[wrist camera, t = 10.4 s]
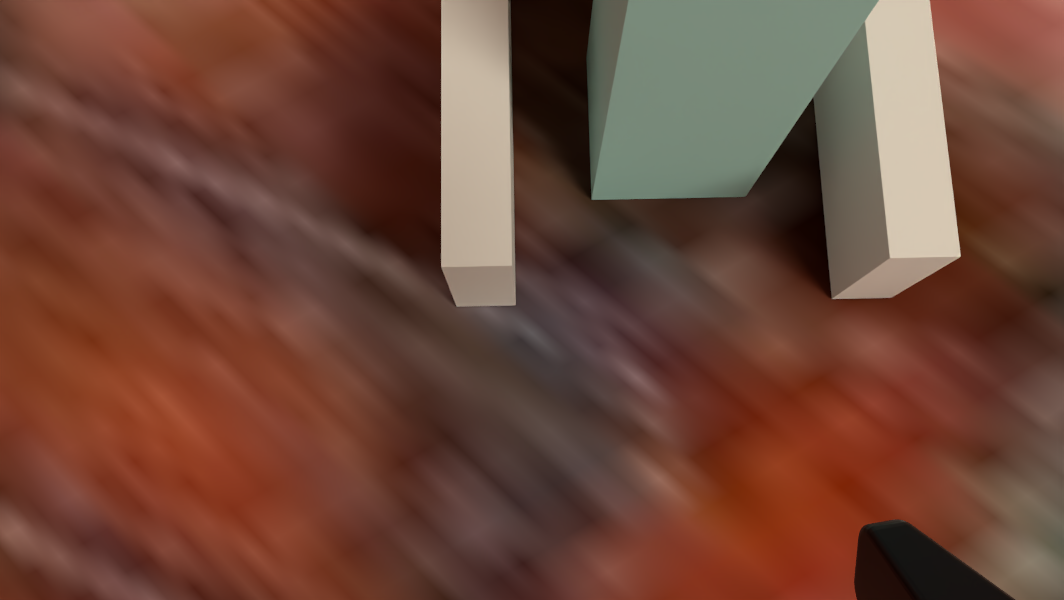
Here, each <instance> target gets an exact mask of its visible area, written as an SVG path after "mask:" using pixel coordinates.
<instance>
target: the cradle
mask: <svg viewBox="0 0 1064 600" xmlns="http://www.w3.org/2000/svg"><path fill="white" fill-rule="evenodd" d="M813 98H814V109H815V120H816V131H817V142H818V153H819V164H820V175H821V186H822V197H823V208H824V219H825V230H826V241H827V252H828V263H829V274H830V285H831V296H832V299H857V298H891V297H893V296H895V295H897V294H898V293H900V292H902V291H903V290H905V289H907V288H908V287H910V286H912V285H914V284H915V283H917V282H919V281H920V280H922V279H924V278H925V277H927V276H929V275H931V274H932V273H934V272H936V271H937V270H939V269H941V268H942V267H944V266H946V265H948V264H949V263H951V262H953V261H954V260H956V259H958V258H959V257H961V254H960V246H959V238H958V230H957V222H956V213H955V205H954V197H953V189H952V181H951V172H950V164H949V156H948V148H947V140H946V131H945V123H944V115H943V107H942V99H941V91H940V82H939V74H938V66H937V58H936V50H935V41H934V33H933V25H932V17H931V9H930V1H929V0H879V1H878V2H877V4H876V5H875V7H874V8H873V10H872V11H871V13H870V14H869V16H868V17H867V19H866V20H865V22H864V23H863V24H862V26H861V27H860V29H859V30H858V32H857V33H856V35H855V36H854V38H853V39H852V41H851V42H850V44H849V45H848V47H847V48H846V49H845V51H844V52H843V54H842V55H841V57H840V58H839V60H838V61H837V63H836V64H835V66H834V67H833V69H832V70H831V72H830V73H829V74H828V76H827V77H826V79H825V80H824V82H823V83H822V85H821V86H820V88H819V89H818V91H817V92H816V94H815V95H814V97H813ZM441 268H442V271H443V273H444V276H445V278H446V281H447V283H448V286H449V289H450V291H451V294H452V296H453V299H454V301H455V304H456V307H461V306H510V305H516V288H515V228H514V168H513V108H512V48H511V0H441Z"/></svg>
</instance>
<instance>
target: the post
mask: <svg viewBox="0 0 1064 600" xmlns="http://www.w3.org/2000/svg"><path fill="white" fill-rule="evenodd" d="M878 1H879V0H593V5H592V14H591V23H590V31H589V40H588V48H587V57H586V61H587V89H588V117H589V145H590V173H591V200H609V199H659V198H708V197H746V195H747V194H748V192H749V191H750V189H751V188H752V186H753V185H754V183H755V182H756V180H757V179H758V178H759V176H760V175H761V173H762V172H763V170H764V169H765V167H766V166H767V164H768V163H769V161H770V160H771V158H772V157H773V155H774V154H775V153H776V151H777V150H778V148H779V147H780V145H781V144H782V142H783V141H784V139H785V138H786V136H787V135H788V133H789V132H790V130H791V129H792V127H793V126H794V125H795V123H796V122H797V120H798V119H799V117H800V116H801V114H802V113H803V111H804V110H805V108H806V107H807V105H808V104H809V102H810V101H811V100H812V98H813V97H814V95H815V94H816V92H817V91H818V89H819V88H820V86H821V85H822V83H823V82H824V80H825V79H826V77H827V76H828V74H829V73H830V72H831V70H832V69H833V67H834V66H835V64H836V63H837V61H838V60H839V58H840V57H841V55H842V54H843V52H844V51H845V49H846V48H847V47H848V45H849V44H850V42H851V41H852V39H853V38H854V36H855V35H856V33H857V32H858V30H859V29H860V27H861V26H862V24H863V23H864V22H865V20H866V19H867V17H868V16H869V14H870V13H871V11H872V10H873V8H874V7H875V5H876V4H877V2H878Z"/></svg>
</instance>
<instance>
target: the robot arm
mask: <svg viewBox="0 0 1064 600" xmlns="http://www.w3.org/2000/svg"><path fill="white" fill-rule="evenodd" d="M854 585H855V592H856V597H857V600H1015V599H1014V598H1012V597H1011V596H1010V595H1008V594H1007V593H1005V592H1004V591H1003V590H1001V589H1000V588H998V587H997V586H996V585H994V584H993V583H992V582H990V581H989V580H987V579H986V578H985V577H983V576H982V575H980V574H979V573H978V572H976V571H975V570H974V569H972V568H971V567H969V566H968V565H967V564H965V563H964V562H962V561H961V560H960V559H958V558H957V557H956V556H954V555H953V554H951V553H950V552H949V551H947V550H946V549H944V548H943V547H942V546H940V545H939V544H938V543H936V542H935V541H933V540H932V539H931V538H929V537H928V536H926V535H925V534H924V533H922V532H921V531H919V530H918V529H917V528H915V527H914V526H913V525H911V524H910V523H908V522H906V521H903V520H889V521H884V522H878V523H872V524H867V525H865V526H863V527H862V529H861V530H860V533H859V537H858V547H857V557H856V567H855V578H854Z"/></svg>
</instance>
